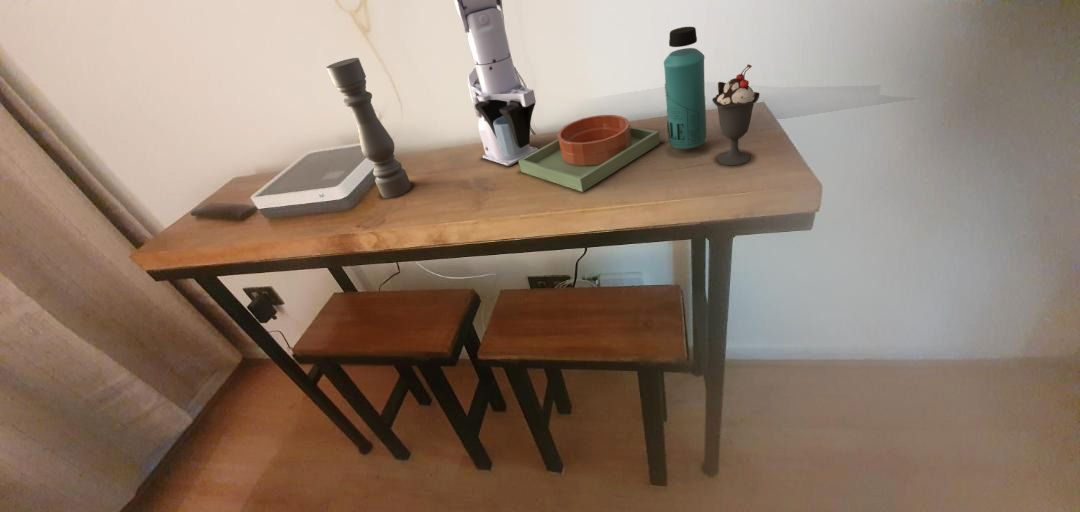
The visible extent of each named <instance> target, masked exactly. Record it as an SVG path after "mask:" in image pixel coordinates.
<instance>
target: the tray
mask: <svg viewBox="0 0 1080 512" xmlns="http://www.w3.org/2000/svg"><path fill="white" fill-rule="evenodd" d="M630 131H631V140H632V146H630V147H629V148H627V149H625V150H624V151H622V152H620V153H619V154H617V155H615V156H614V157H612V158H611V159H609V160H607V161H606V162H604V163H602V164H598V165H589V166H580V165H573V164H569V163H567V162H565V161H564V160H563V159H562V156H561V151H560V145H559V141H558V138H557V139H555V140H554V141H552V142H550V143H547V144H545V145H544V146H542V147H540V148H539V149H538V150H537V151H535V152H533V153H531V154H529V155H528V156H526V157H524V158H522V159H520V160H518V165H519V169H520V172H521V173H524V174H527V175H529V176H532V177H536V178H539V179H541V180H544V181H548V182H551V183H554V184H556V185H557V184H558V185H560V186H563V187H566V188H570V189H572V190H574V191H575V190H576V191H579V192H582V193H583V192H585V191H586V190H588V189H590V188H591V187H593V186H595V185H597V184H598V183H599V182H601V181H603V180H604V179H606V178H607V177H609V176H610V175H612V174H614V173H615V172H617V171H618V170H620V169H622V168H623V167H625V166H626V165H628V164H630V163H631V162H633V161H634V160H636V159H638V158H639V157H641V156H642V155H644V154H646V153H647V152H649V151H651V150H652V149H654V148H655V147H657V146H659V145H660V144H661V142H660V139H661V138H660V131H659V130H658V131H657V130H654V129H647V128H642V127H636V126H630Z"/></svg>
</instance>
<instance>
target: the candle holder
mask: <svg viewBox="0 0 1080 512" xmlns="http://www.w3.org/2000/svg"><path fill="white" fill-rule="evenodd" d="M326 70H327V73H328V75H329V77H330V80H331V82H332V84H333V86H334V87H335V88H337V91H338V92H340V93H341V94H342V96H344V99H343V102H342V103H343V105H344V106H346V107H347V108H348V109H350V111H351V114H352V117H353V118H354V121H355V124H356V127H357V132H358V138H359V142H360V148H361V152H362V155H363V156H364V157H365V158H366V159H368V160H369V161H370V162H371V164H372V165H374V166H373V172H372V173H373V176H374V177H375V179H374V182H375V184H376V187H377V188H378V192H379V193H380V195H381V197H382V198H386V199H391V198H395V197H399V196H401V195H404V194H406V193H407V192H408V191H410V189H411V187H412V184H411V181H410V178H409V176H408V174H407V171H406V169H404V168H403V166H402V162H400V161H398V160H397V159H396V158H395V154H394V153H395V142H394V140H393V138H392V137H391V135H390V133H389V132H388V131H387V129H386V128H385V126H384V125H383V123H382V122H381V121H380V119H379V118H378V116H377V113H376V111H375V109H374V106H373V104H372V98H373V94H372V92H370V91H368V90H367V86H366V85H367V80H366V77H367V75H366V72H365V70H364V68H363V65H362V62H361V61H360V58H359V57H352V58H347V59H342V60H339V61H336V62H333V63H331V64H329V65H327V66H326Z"/></svg>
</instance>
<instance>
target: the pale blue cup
mask: <svg viewBox="0 0 1080 512" xmlns="http://www.w3.org/2000/svg"><path fill="white" fill-rule="evenodd" d="M493 126H494V129H495V133H496V137H497V140H498V144H499V148H500V151H501V152H502V153H503V155H504V156H517V155H520V154H523V153H524V152H526V151H527V150H528V149H529V146H530V144H528V145H526V146H524V147H522V148H519V147H518V146H517V144H516V142H515V140H514V137H513V134H512V131H511V128H510V126H509V124H508V122H507V121H506V119H505V117H504V116H501V117H499V118H497V119H496V120H495V121H494V122H493Z"/></svg>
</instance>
